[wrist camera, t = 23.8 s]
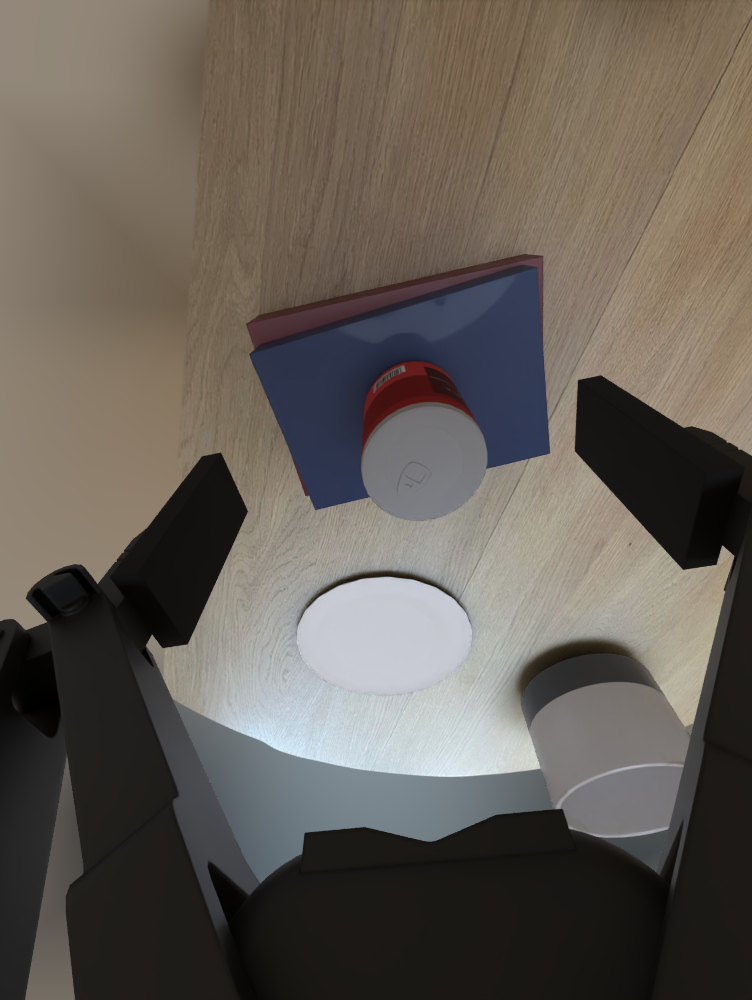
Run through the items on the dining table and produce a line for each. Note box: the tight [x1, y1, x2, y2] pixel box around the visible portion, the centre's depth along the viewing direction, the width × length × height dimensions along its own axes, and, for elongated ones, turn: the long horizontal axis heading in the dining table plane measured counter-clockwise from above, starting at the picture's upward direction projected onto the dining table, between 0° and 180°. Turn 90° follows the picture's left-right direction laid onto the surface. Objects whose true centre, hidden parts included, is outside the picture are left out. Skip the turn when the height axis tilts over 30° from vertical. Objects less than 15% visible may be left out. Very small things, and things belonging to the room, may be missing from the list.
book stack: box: [246, 254, 550, 510], centre depth 38 cm, size 17×24×8 cm
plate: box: [296, 576, 472, 696], centre depth 60 cm, size 25×25×2 cm
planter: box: [521, 654, 691, 837], centre depth 59 cm, size 19×19×18 cm
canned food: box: [361, 361, 487, 521], centre depth 30 cm, size 8×8×11 cm
